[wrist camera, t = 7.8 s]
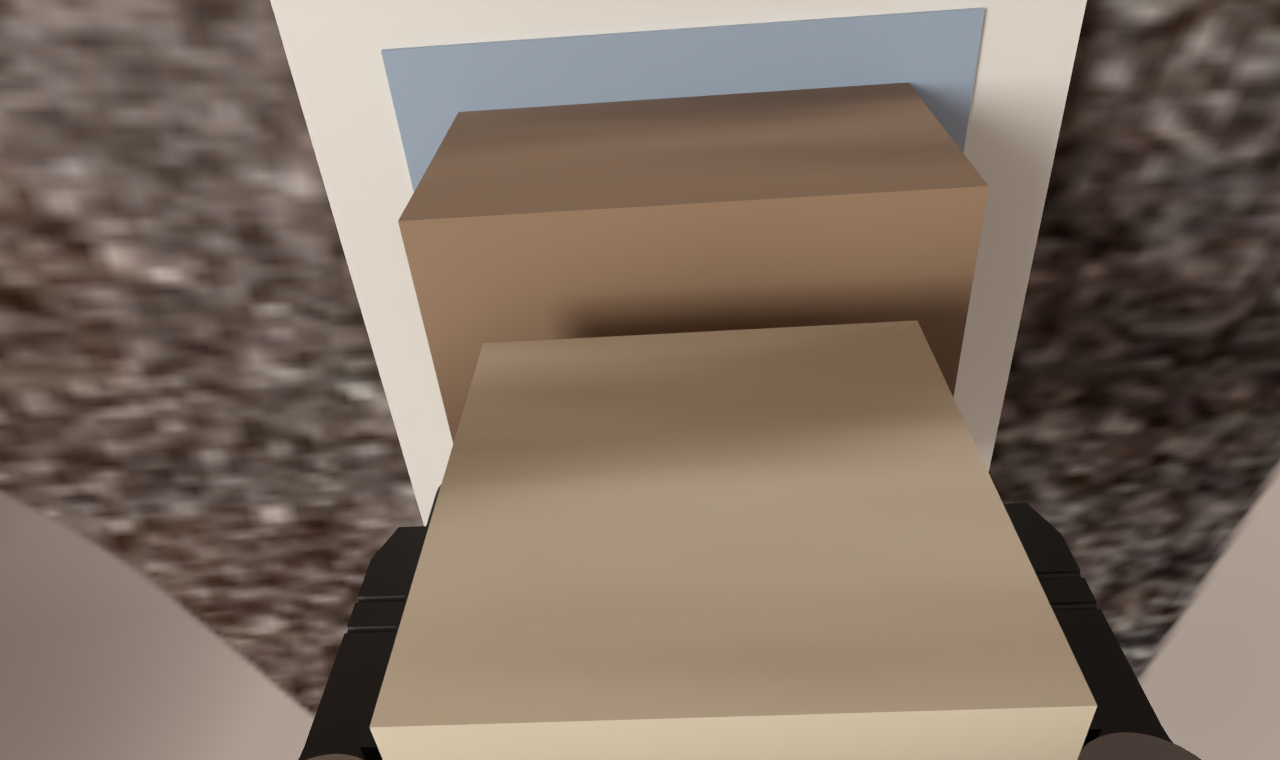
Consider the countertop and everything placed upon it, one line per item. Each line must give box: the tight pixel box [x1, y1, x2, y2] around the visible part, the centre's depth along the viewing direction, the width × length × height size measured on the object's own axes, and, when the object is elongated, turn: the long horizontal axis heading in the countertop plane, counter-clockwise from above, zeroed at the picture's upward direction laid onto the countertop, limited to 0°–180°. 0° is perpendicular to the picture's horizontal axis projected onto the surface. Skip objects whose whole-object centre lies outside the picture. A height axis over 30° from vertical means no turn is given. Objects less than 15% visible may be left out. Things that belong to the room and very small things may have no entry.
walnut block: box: [398, 82, 989, 443], centre depth 14 cm, size 7×7×4 cm
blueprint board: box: [270, 0, 1087, 526], centre depth 16 cm, size 16×12×1 cm
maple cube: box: [369, 321, 1097, 760], centre depth 10 cm, size 5×5×5 cm
